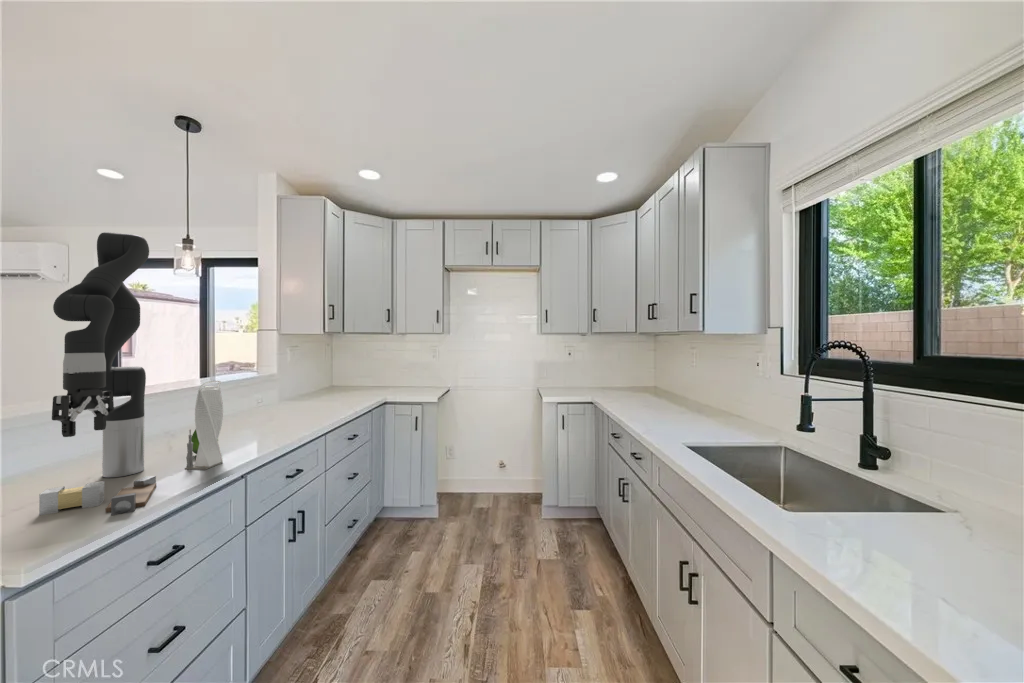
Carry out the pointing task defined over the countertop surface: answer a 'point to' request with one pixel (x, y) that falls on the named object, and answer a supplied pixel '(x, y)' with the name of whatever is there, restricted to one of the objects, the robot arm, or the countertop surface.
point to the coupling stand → (132, 496)
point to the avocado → (195, 442)
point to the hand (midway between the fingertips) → (85, 433)
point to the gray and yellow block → (71, 497)
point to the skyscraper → (207, 428)
